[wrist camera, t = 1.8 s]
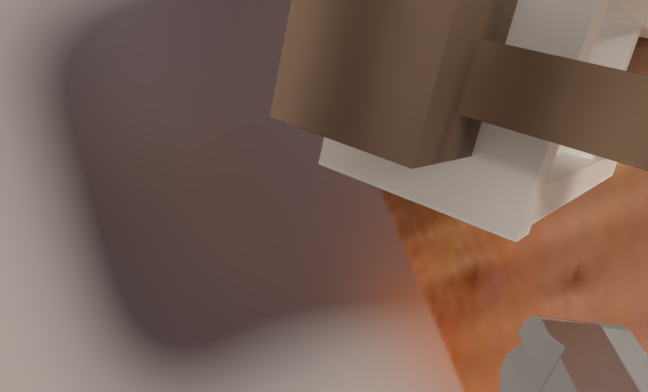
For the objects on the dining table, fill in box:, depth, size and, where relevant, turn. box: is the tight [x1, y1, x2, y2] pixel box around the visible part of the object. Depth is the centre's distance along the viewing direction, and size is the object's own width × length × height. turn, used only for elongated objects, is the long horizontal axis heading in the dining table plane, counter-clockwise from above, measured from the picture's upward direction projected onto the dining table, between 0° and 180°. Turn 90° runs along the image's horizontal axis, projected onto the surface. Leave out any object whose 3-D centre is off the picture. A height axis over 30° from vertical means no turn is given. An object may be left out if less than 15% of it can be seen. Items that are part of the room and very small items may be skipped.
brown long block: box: [270, 0, 648, 171], centre depth 22 cm, size 19×7×6 cm, turn 74°
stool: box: [318, 0, 648, 242], centre depth 37 cm, size 11×13×26 cm
